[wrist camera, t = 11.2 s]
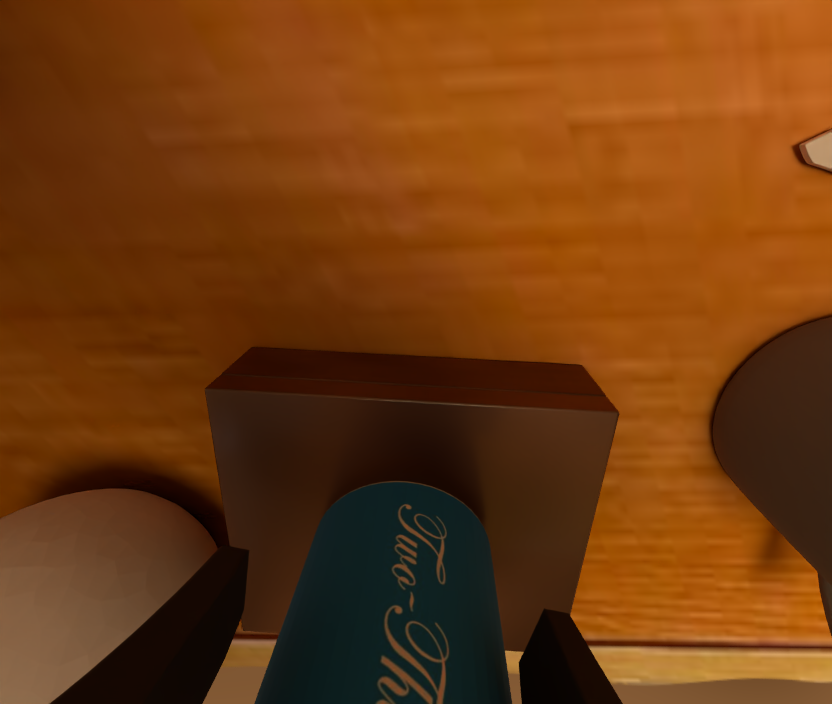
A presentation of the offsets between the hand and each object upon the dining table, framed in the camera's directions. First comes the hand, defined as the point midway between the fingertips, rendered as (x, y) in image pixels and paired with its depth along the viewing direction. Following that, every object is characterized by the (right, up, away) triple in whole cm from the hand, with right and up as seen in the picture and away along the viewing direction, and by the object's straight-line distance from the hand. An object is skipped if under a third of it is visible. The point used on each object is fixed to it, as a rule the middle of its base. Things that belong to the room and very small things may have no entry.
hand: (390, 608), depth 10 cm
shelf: (0, +1, +10) cm, 10 cm away
